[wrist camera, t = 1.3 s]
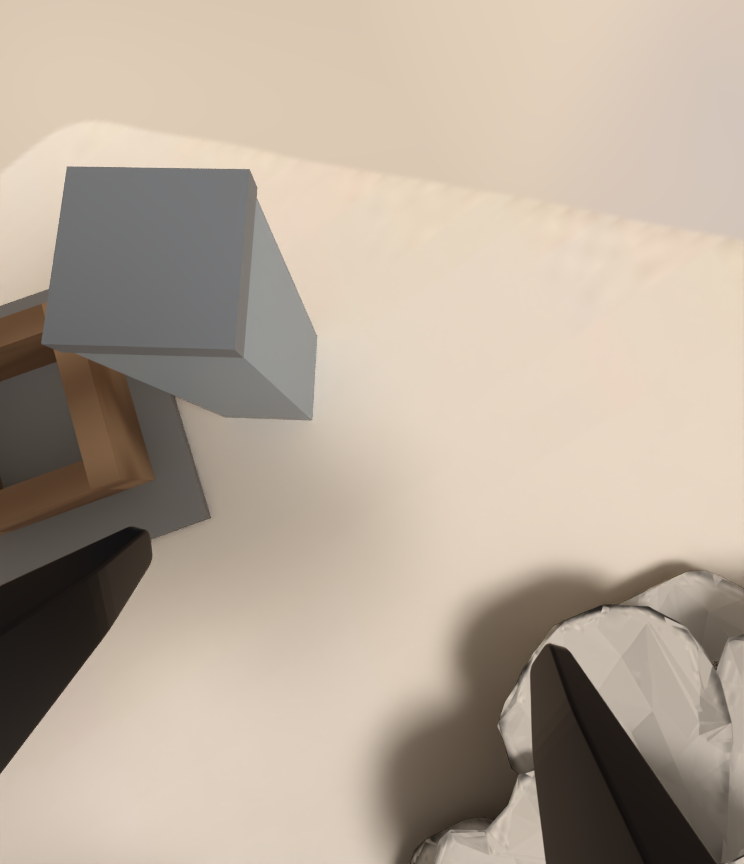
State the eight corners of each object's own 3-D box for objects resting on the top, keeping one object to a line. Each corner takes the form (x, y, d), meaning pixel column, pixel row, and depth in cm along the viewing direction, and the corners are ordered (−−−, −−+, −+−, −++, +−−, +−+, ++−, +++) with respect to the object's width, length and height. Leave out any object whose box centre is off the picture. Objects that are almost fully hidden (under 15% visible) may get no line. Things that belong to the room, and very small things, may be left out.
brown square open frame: (155, 479, 22) (120, 479, 19) (-14, 540, 22) (-75, 549, 19) (108, 318, 24) (69, 294, 21) (-51, 373, 23) (-114, 357, 20)
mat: (210, 517, 22) (207, 518, 22) (-32, 605, 22) (-40, 607, 22) (134, 264, 24) (130, 260, 24) (-89, 341, 24) (-97, 339, 24)
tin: (313, 421, 23) (234, 349, 11) (223, 419, 23) (41, 344, 11) (318, 334, 24) (249, 169, 11) (231, 331, 24) (67, 166, 11)
